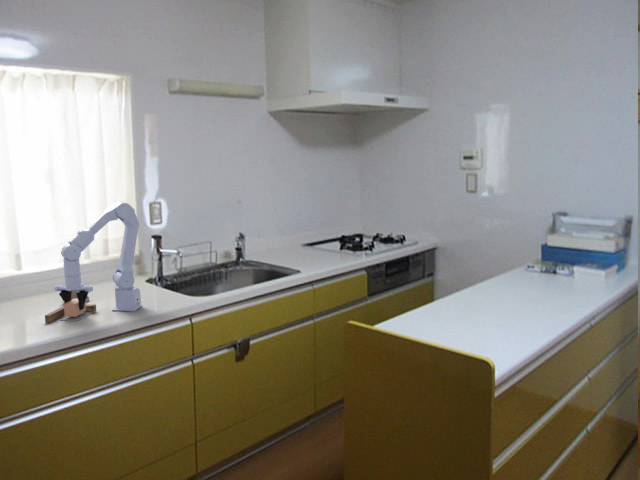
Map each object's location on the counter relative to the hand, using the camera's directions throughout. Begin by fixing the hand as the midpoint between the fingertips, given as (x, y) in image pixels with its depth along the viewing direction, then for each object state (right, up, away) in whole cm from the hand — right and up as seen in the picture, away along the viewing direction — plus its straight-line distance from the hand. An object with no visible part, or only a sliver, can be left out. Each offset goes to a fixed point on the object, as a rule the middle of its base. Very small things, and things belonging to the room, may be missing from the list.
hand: (75, 309), depth 217 cm
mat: (0, -3, +1) cm, 3 cm away
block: (0, -2, 0) cm, 2 cm away
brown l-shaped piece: (-2, -3, 0) cm, 4 cm away
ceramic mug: (-10, 0, +23) cm, 25 cm away
